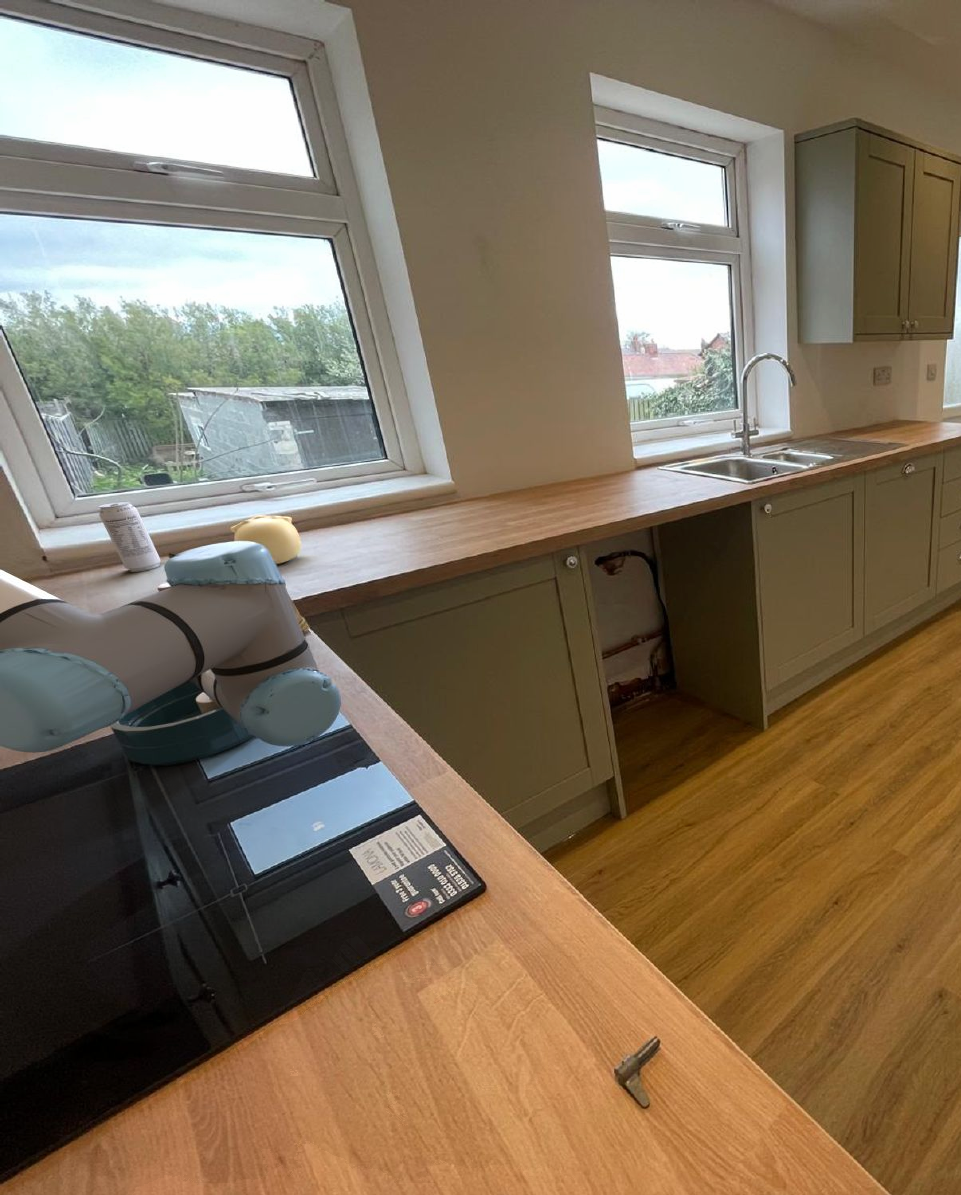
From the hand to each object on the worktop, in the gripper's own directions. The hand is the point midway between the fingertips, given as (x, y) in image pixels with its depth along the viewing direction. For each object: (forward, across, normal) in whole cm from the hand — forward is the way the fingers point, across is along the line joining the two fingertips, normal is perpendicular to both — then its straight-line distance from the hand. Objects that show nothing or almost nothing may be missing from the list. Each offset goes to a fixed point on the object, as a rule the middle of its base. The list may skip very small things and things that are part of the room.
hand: (181, 625), depth 82 cm
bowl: (-4, +2, +13) cm, 14 cm away
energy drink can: (+95, -11, +13) cm, 96 cm away
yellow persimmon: (+70, -29, +13) cm, 77 cm away
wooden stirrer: (-5, 0, +11) cm, 12 cm away
